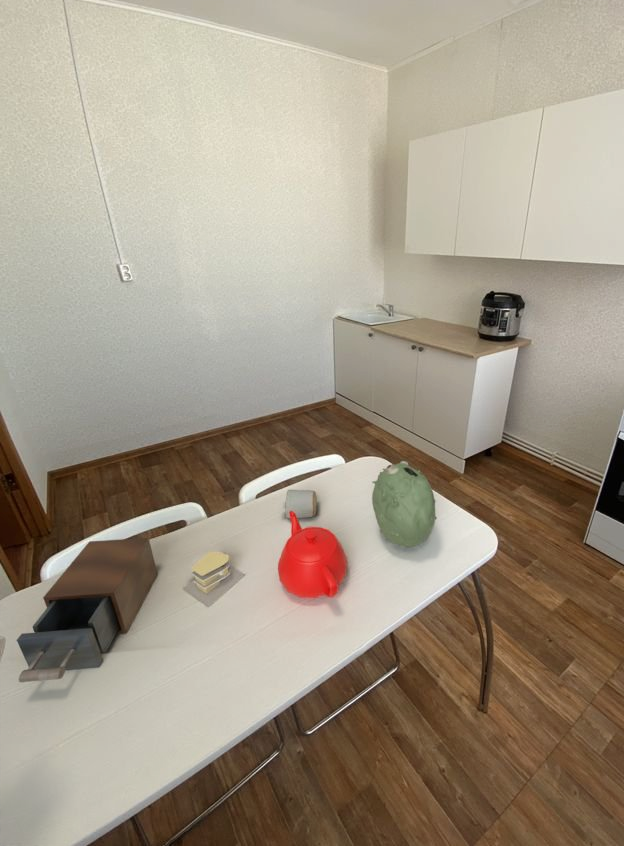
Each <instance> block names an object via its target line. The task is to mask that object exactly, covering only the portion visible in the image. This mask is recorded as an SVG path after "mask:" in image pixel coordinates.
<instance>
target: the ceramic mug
mask: <svg viewBox="0 0 624 846" xmlns="http://www.w3.org/2000/svg"><path fill="white" fill-rule="evenodd" d="M290 511H293V512H294V513H295V514H296V516H297V519H298V518H299V519H300V518H301V519H303V518H312V517H315V516H316V514H317V492H316V491H315V490H311V489H287V491H286V495H285V517H286V519H290V514H289V512H290Z"/></svg>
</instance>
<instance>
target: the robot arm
mask: <svg viewBox="0 0 624 846" xmlns="http://www.w3.org/2000/svg"><path fill="white" fill-rule="evenodd" d="M5 647H6V638H5V636H3V635H0V662H2V658H3V655H4V651H5Z"/></svg>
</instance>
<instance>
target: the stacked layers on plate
mask: <svg viewBox="0 0 624 846" xmlns="http://www.w3.org/2000/svg"><path fill="white" fill-rule="evenodd" d="M190 570H192V572H191V575H192V576H194V578H193V580H191V581H190V582H189V583H187V584H186V585H185V586H183V587H182V589H183V590H184V591H185V592H186V593H188V594H189V595H191V596H192V597H193V598H195V599H196V600H198V601H199V602H201V603H202V604H203V605H205V606H206V607H208V608H209V607H210V606H211V605H213V604H214V603H215V602H216V601H217V600H219V598H221V597H222V596H223V595H224V594H225V593H226V592H227V591H228V590H230V589H231V588H232V587H233V586H234V585H235V584H237V583H238V582H239V581H240V580H241V579H243V577H245V575H246V574H245V573H243V571H240V570H238V569H237V568H235V567H234V566H232V565H230V558H229V555H228V554H226V553H222V552H218V551H210V552H207V553H206V554H205V555H204V556H202V557H201V558H200V559H199V560H198V561H197V562H196V563H195V564H194V565H193V566H192V567H191V568H190Z"/></svg>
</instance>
